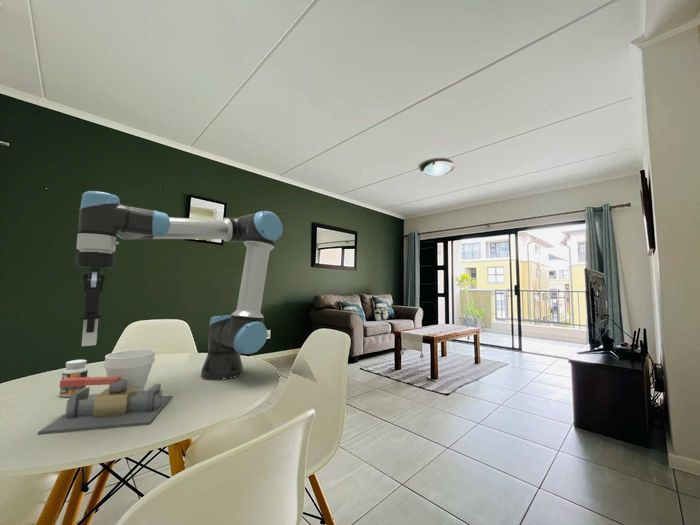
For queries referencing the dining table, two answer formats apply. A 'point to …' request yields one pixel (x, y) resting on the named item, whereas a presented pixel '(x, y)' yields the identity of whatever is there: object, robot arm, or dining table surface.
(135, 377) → the cup
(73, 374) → the pill bottle
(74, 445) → the dining table surface
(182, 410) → the dining table surface
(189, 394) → the dining table surface
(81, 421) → the mat
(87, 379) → the lever
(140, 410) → the valve
